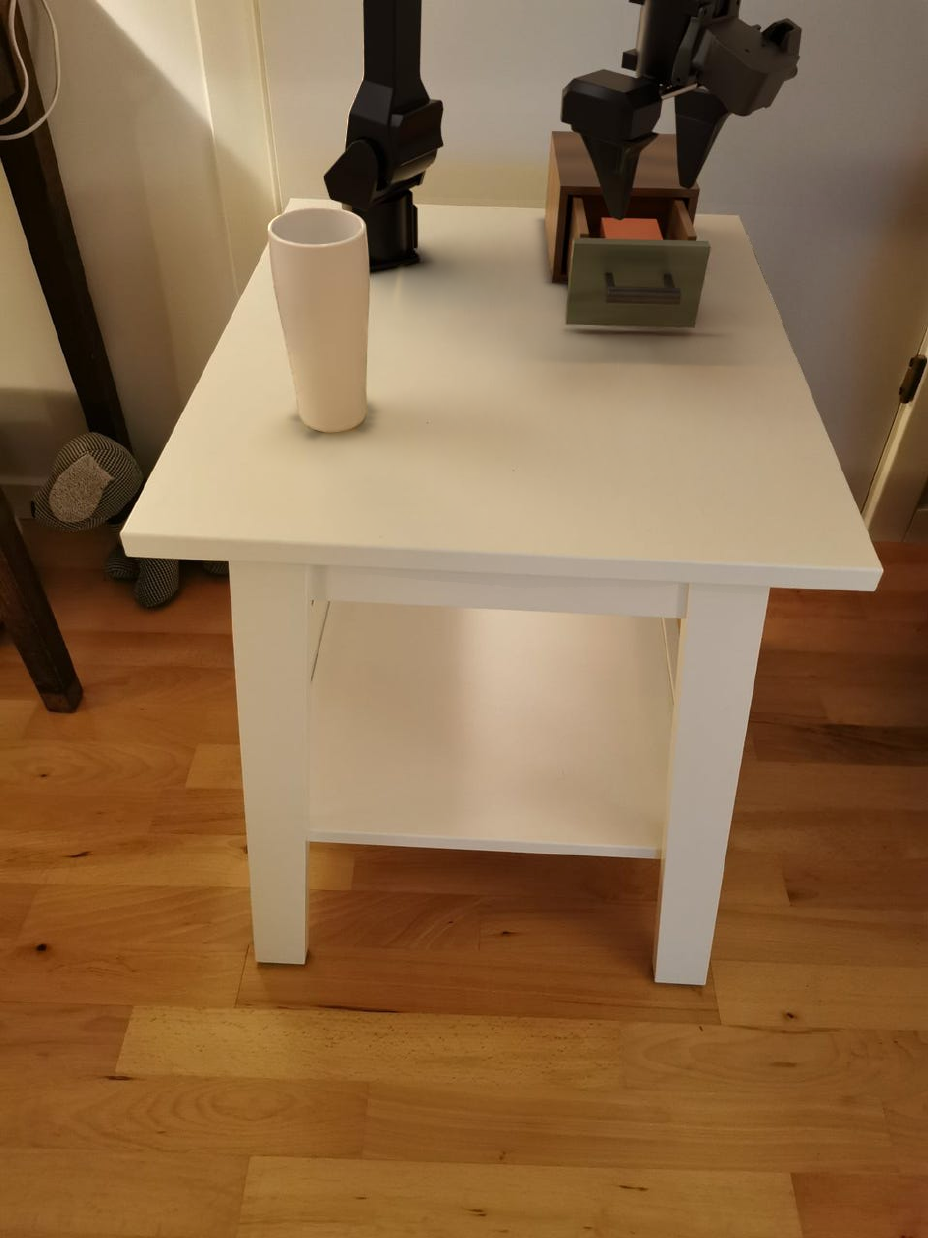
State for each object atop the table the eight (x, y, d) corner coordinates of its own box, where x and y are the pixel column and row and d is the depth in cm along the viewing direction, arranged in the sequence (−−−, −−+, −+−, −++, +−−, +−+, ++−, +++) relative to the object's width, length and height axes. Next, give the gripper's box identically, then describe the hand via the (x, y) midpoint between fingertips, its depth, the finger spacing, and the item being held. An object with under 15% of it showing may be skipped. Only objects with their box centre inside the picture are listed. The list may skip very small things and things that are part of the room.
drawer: (702, 352, 83) (720, 269, 78) (569, 348, 83) (577, 265, 77) (672, 261, 95) (686, 185, 90) (556, 258, 95) (563, 181, 90)
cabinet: (682, 285, 94) (700, 188, 87) (551, 282, 94) (560, 185, 87) (661, 224, 104) (676, 133, 98) (544, 221, 104) (551, 130, 98)
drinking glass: (363, 446, 73) (351, 251, 63) (277, 434, 74) (251, 240, 64) (386, 399, 78) (378, 210, 67) (305, 389, 79) (285, 201, 68)
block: (655, 296, 87) (664, 241, 84) (599, 295, 87) (606, 240, 84) (648, 272, 91) (656, 218, 88) (594, 270, 91) (601, 217, 88)
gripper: (710, 14, 57) (667, 270, 68) (861, -31, 67) (803, 199, 78) (565, -18, 63) (547, 223, 74) (724, -55, 73) (687, 163, 83)
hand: (652, 202), depth 77 cm, fingers open, 9 cm apart
